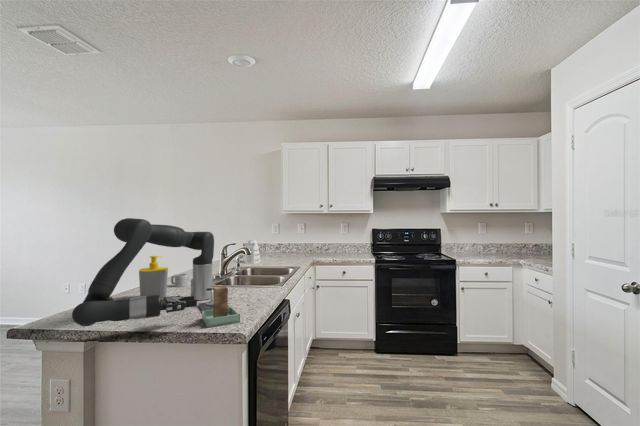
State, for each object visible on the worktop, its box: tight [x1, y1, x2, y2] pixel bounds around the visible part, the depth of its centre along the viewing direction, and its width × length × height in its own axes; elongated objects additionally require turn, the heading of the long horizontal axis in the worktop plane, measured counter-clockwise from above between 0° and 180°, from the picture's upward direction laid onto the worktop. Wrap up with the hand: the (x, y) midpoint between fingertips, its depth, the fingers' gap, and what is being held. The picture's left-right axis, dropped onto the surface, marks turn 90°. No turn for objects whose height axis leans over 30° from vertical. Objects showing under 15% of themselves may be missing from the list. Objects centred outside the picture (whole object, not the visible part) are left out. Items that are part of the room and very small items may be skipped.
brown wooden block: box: [212, 285, 229, 318], centre depth 124 cm, size 4×4×12 cm
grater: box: [244, 240, 262, 265], centre depth 286 cm, size 10×10×20 cm
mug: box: [170, 273, 188, 288], centre depth 189 cm, size 10×7×7 cm
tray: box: [201, 306, 241, 329], centre depth 124 cm, size 12×12×3 cm
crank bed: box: [197, 287, 230, 312], centre depth 141 cm, size 11×16×8 cm
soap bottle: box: [138, 255, 169, 300], centre depth 160 cm, size 13×13×21 cm
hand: (195, 300), depth 119 cm, fingers open, 6 cm apart
